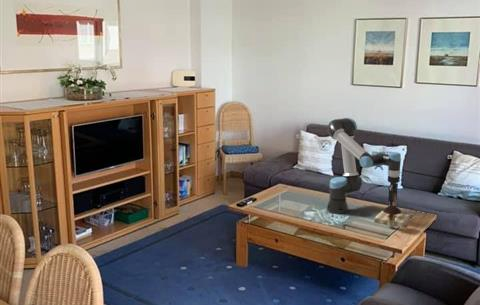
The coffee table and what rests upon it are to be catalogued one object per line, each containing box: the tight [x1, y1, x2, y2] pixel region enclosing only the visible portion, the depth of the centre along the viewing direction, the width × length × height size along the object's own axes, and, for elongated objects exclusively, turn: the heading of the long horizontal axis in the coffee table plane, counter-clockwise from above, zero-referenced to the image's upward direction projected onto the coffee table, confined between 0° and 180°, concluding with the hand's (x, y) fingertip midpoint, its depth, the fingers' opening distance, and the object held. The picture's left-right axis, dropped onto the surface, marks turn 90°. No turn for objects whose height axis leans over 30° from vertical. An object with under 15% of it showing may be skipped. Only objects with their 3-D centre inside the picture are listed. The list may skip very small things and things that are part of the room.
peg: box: [393, 193, 397, 207], centre depth 327 cm, size 4×4×14 cm
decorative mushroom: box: [382, 205, 402, 229], centre depth 315 cm, size 11×11×15 cm
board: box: [373, 210, 410, 228], centre depth 330 cm, size 18×18×3 cm
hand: (392, 210), depth 328 cm, fingers closed on peg, 4 cm apart
